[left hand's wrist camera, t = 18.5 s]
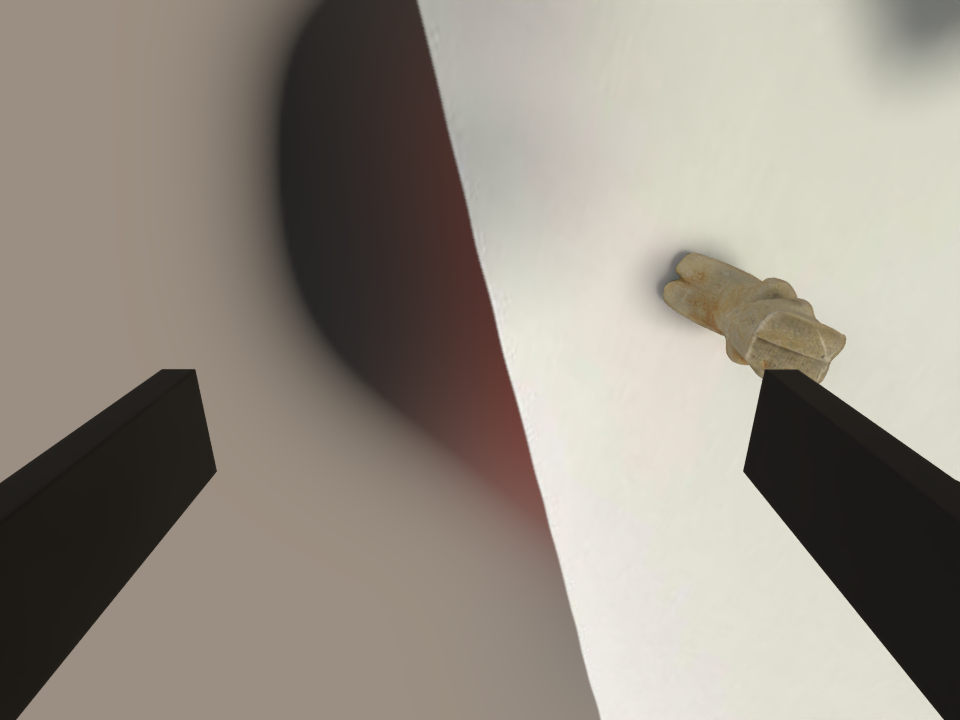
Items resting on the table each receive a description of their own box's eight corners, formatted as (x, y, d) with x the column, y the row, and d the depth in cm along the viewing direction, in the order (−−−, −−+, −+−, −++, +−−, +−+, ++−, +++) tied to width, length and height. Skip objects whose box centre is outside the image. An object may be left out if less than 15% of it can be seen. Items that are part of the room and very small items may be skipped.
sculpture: (687, 235, 41) (793, 281, 27) (765, 274, 42) (904, 337, 29) (647, 302, 43) (727, 376, 29) (723, 337, 44) (833, 425, 31)
